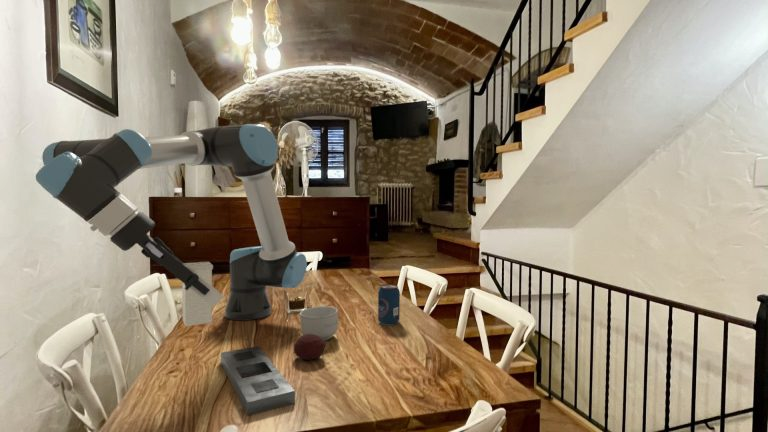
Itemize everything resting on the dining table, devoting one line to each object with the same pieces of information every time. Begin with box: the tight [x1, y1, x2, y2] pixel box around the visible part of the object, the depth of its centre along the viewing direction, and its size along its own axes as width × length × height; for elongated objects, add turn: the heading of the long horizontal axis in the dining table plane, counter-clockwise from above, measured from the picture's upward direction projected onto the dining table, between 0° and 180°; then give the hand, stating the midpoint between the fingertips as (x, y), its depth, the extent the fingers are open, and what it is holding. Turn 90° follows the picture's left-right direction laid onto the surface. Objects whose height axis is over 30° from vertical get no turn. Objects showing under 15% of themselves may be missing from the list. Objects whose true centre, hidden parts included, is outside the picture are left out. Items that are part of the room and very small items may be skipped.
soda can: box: [377, 283, 401, 326], centre depth 132 cm, size 7×7×12 cm
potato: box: [293, 334, 326, 360], centre depth 102 cm, size 7×8×6 cm
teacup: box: [299, 304, 339, 341], centre depth 119 cm, size 14×11×8 cm
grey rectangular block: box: [181, 261, 214, 327], centre depth 85 cm, size 5×5×12 cm
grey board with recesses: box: [220, 345, 296, 416], centre depth 89 cm, size 28×9×3 cm, turn 31°
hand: (216, 298), depth 87 cm, fingers closed on grey rectangular block, 5 cm apart
